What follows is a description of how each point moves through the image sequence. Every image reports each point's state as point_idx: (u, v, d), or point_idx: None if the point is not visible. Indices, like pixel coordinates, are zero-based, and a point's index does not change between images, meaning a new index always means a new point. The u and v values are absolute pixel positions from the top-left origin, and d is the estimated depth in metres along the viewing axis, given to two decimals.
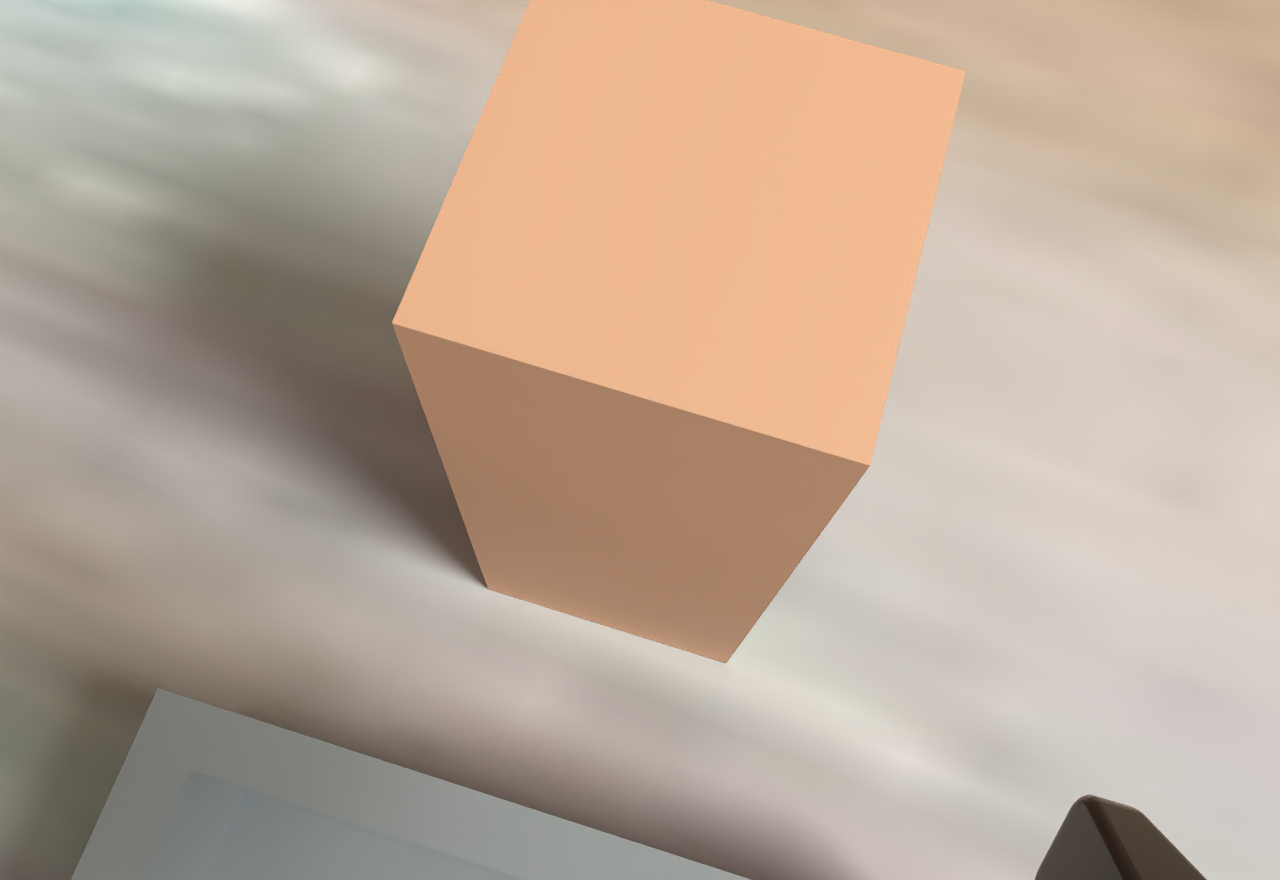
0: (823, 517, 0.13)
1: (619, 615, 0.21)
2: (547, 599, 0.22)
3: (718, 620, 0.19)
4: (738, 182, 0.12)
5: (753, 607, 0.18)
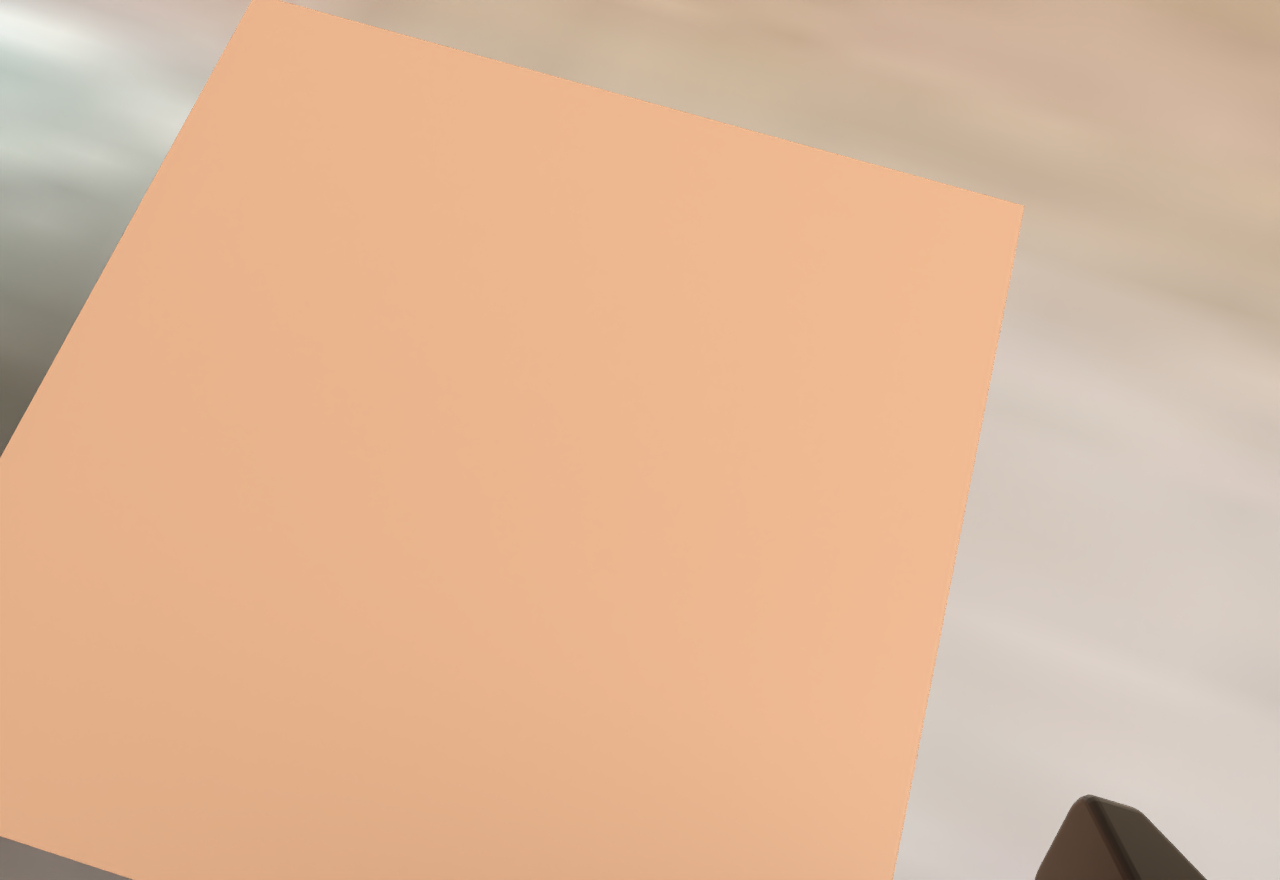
0: None
1: None
2: None
3: None
4: (586, 441, 0.06)
5: None
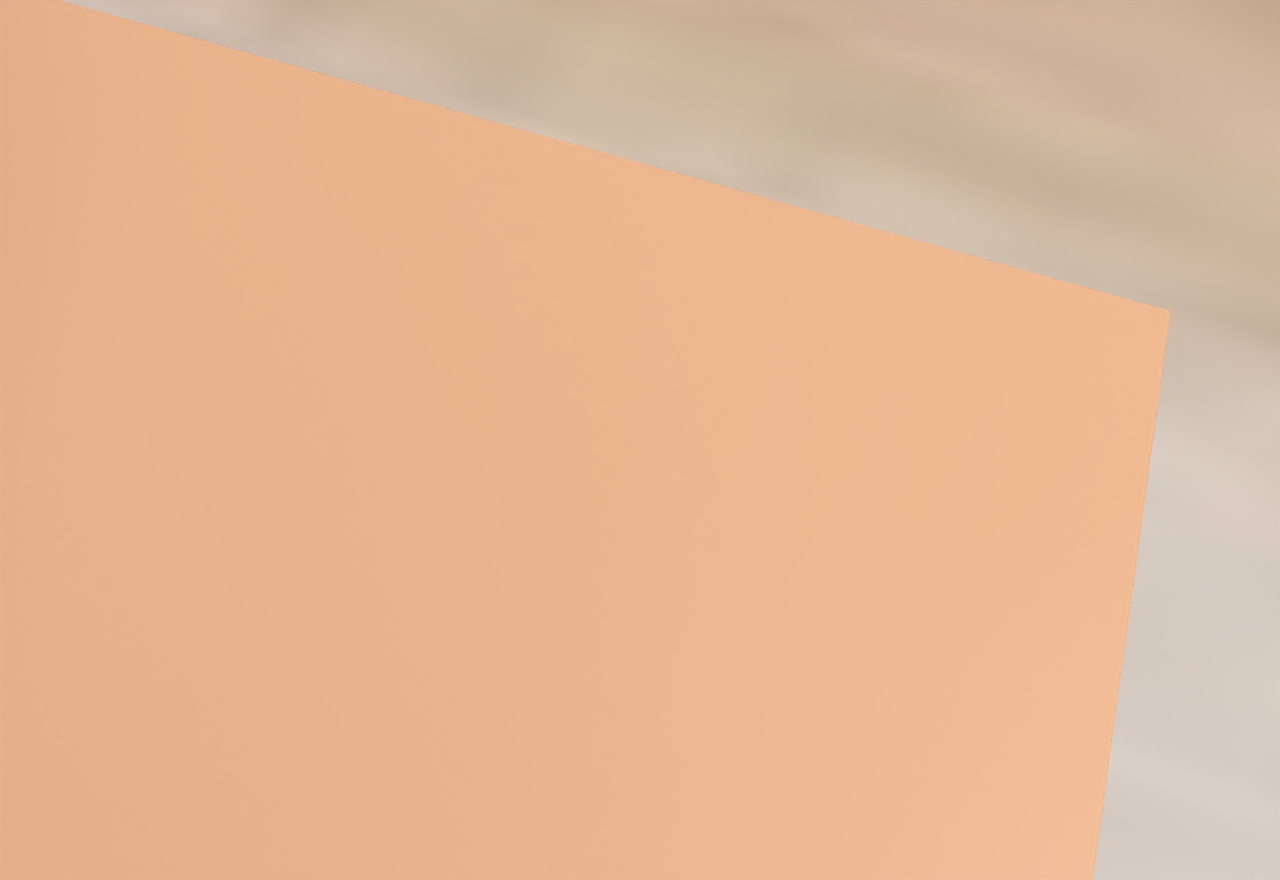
0: None
1: None
2: None
3: None
4: (380, 777, 0.03)
5: None
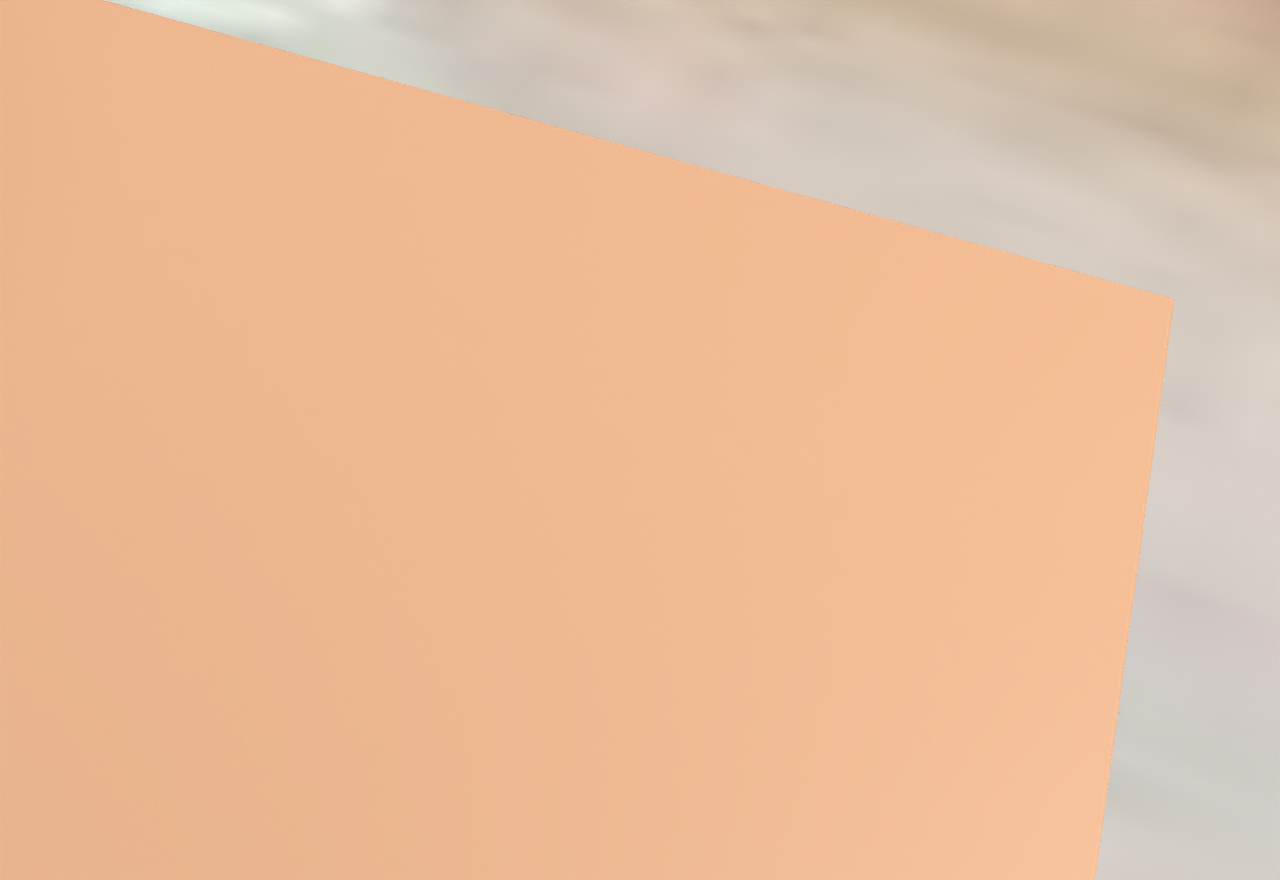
0: None
1: None
2: None
3: None
4: (382, 762, 0.03)
5: None
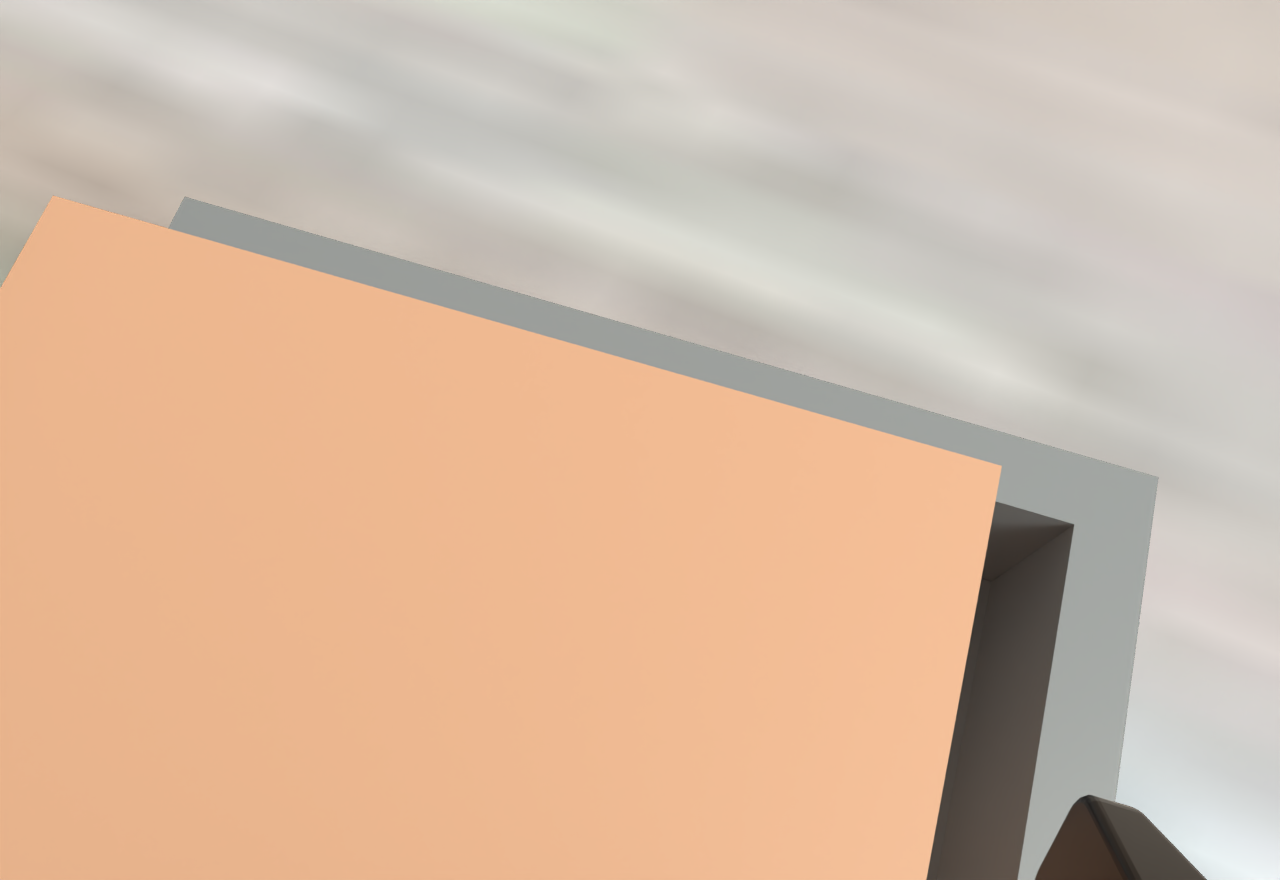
0: None
1: None
2: None
3: None
4: (441, 811, 0.05)
5: None
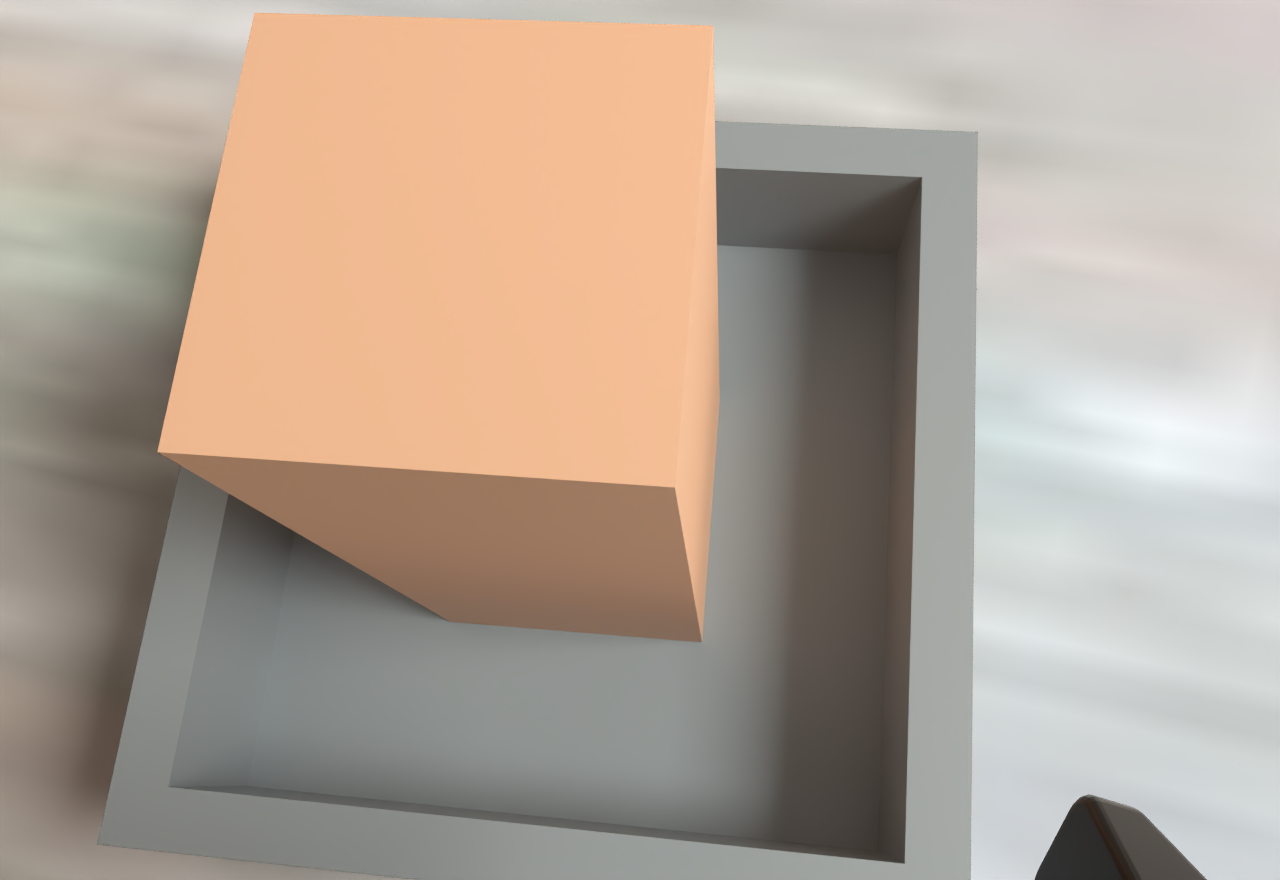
0: (675, 530, 0.12)
1: (577, 623, 0.21)
2: (506, 621, 0.21)
3: (663, 614, 0.18)
4: (491, 211, 0.11)
5: (683, 601, 0.17)
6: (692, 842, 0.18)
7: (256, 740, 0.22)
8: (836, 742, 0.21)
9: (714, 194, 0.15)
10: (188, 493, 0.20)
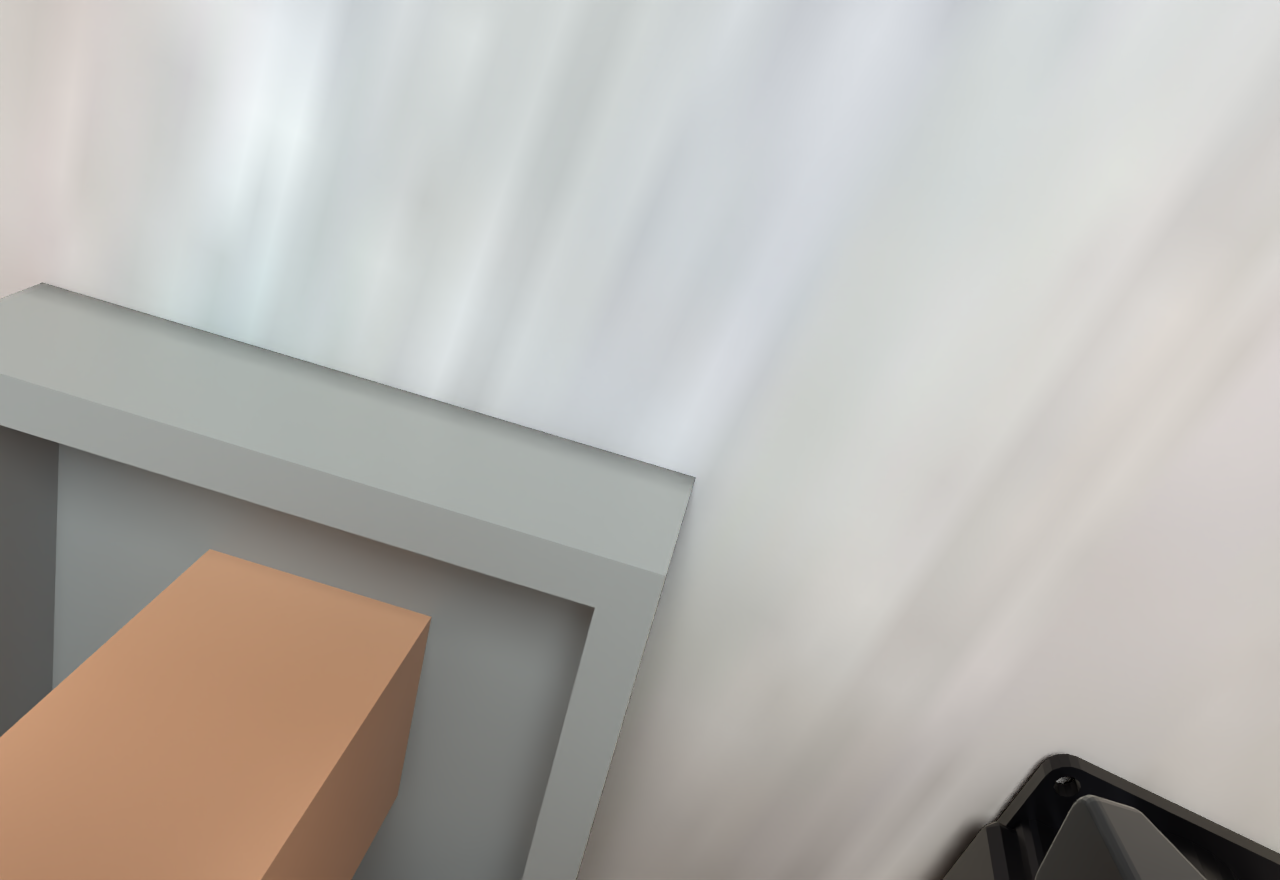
0: None
1: (392, 740, 0.23)
2: (392, 776, 0.24)
3: (363, 739, 0.21)
4: None
5: (329, 780, 0.19)
6: (556, 755, 0.20)
7: None
8: None
9: None
10: None
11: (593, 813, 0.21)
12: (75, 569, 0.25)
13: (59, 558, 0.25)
